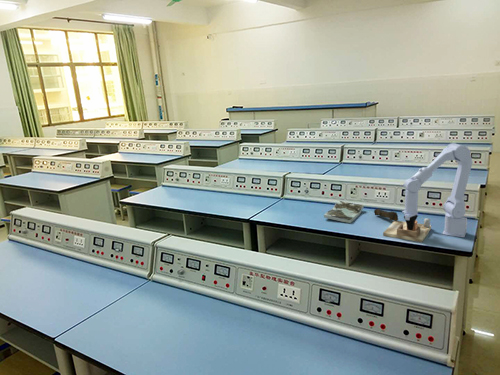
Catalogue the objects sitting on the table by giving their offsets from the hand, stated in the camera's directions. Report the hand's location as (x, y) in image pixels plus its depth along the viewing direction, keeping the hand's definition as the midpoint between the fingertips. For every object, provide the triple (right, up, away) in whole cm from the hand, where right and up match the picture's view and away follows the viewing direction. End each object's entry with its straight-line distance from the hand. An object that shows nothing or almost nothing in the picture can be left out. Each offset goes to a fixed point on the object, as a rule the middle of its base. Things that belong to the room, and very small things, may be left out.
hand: (410, 229), depth 183 cm
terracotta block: (+2, 0, +3) cm, 4 cm away
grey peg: (+10, +1, +5) cm, 11 cm away
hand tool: (-4, +1, +28) cm, 28 cm away
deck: (0, -2, +4) cm, 4 cm away
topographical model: (-23, +4, +37) cm, 43 cm away
